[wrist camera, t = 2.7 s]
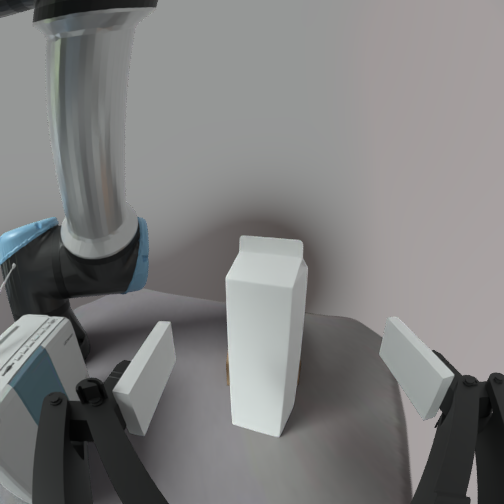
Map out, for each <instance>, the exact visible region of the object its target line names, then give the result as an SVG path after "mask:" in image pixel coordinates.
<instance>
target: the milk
mask: <svg viewBox="0 0 504 504" xmlns="http://www.w3.org/2000/svg"><path fill="white" fill-rule="evenodd" d="M307 274H308V267H307V265H306V263H305V261H304V259H303V243H302V241H300V240H292V239H280V238H267V237H256V236H241V237H240V252H239V254H238V256H237V257H236V259H235V261H234V263H233V265H232V267H231V269H230V271H229V272H228V274H227V276H226V305H227V333H228V356H229V376H230V394H231V411H232V424H234V425H237V426H240V427H243V428H247V429H250V430H253V431H257V432H260V433H264V434H268V435H271V436H275V437H280V435H281V433H282V431H283V429H284V427H285V425H286V422H287V420H288V418H289V416H290V414H291V411H292V409H293V407H294V402H295V394H296V387H297V379H298V371H299V363H300V354H301V345H302V335H303V325H304V314H305V302H306V289H307Z"/></svg>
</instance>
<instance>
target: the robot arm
mask: <svg viewBox="0 0 504 504" xmlns="http://www.w3.org/2000/svg"><path fill="white" fill-rule="evenodd" d="M157 2H158V0H0V18H1V17H6V16H9V15H13V14H16V13H19V12H23V11H27V10H30V9H34V8H35V9H34V17H33V26H34V27H35V28H36V29H38V30H39V31H40V32H41V33H43V34H44V35H45V37H46V39H47V43H46V102H47V116H48V124H49V125H48V126H49V133H50V142H51V149H52V155H53V161H54V167H55V172H56V177H57V182H58V187H59V191H60V196H61V200H62V204H63V208H64V211H65V215H66V217H65V219H64V220H63V223H62V225H61V226H58V221H57V218H56V217H52V218H48V219H44V220H41V221H38V222H34V223H31V224H28V225H25V226H22V227H19V228H16V229H14V230H11V231H8V232H6V233H4V234H3V235H2V236H1V237H0V265H1V270H2V275H3V279H4V281H5V279H6V277H7V275H8V274H9V272H10V271H11V269H12V265H13V263H15V264H16V267H15V268H14V269H12V271H11V273H10V276H9V277H8V279H7V281H6V284H5V288H6V292H7V296H8V300H9V304H10V307H11V311H12V314H13V318H14V321H15V322H16V321H17V320H18V319H20V318H21V317H22V316H24V315H28V314H31V315H48V316H50V317H53V316H55V317H66V318H67V319H69V320H70V322H71V324H72V327H73V329H74V332H75V335H76V338H77V341H78V344H79V347H80V350H81V353H82V356H83V359H85V358H86V357H87V355H88V353H89V350H90V345H89V341H88V338H87V334H86V332H85V330H84V329H83V327H82V326H81V324H80V322H79V321H78V319H77V318H76V316H75V314H74V312H73V311H72V309H71V307H70V303H69V298H78V297H89V296H99V295H110V294H126V293H128V292H133V291H138V290H141V289H142V288H143V287H144V286H145V284H146V281H147V277H148V265H149V261H148V252H149V242H148V241H149V240H148V229H147V223H146V221H145V219H143V218H139V217H137V215H136V212H135V210H134V209H133V207H132V206H131V205H130V204H128V203H127V202H126V193H125V192H126V190H125V116H126V100H127V87H128V77H129V68H130V59H131V52H132V45H133V39H134V33H135V28H136V26H137V25H138V23H139V22H140V21H142V20H143V19H144V18H145V17H147V16H148V15H150V14H151V13H152V12H154V11H155V10H156V6H157ZM379 355H380V357H381V358H382V360H383V361H384V362H385V364H386V365H387V367H388V368H389V370H390V371H391V373H392V374H393V376H394V377H395V378H396V380H397V381H398V383H399V384H400V386H401V387H402V389H403V390H404V392H405V393H406V395H407V396H408V398H409V399H410V401H411V402H412V404H413V405H414V407H415V408H416V410H417V412H418V413H419V415H420V416H421V418H422V419H423V421H424V420H427V419H430V418H433V417H435V415H436V414H437V412H438V410H439V408H440V410H441V411H442V415H441V416H440V418H439V420H438V422H437V423H436V425H435V428H436V427H437V425H438V427H437V431H436V434H435V438H434V442H433V445H432V448H431V451H430V455H429V458H428V461H427V464H426V466H425V469H424V472H423V475H422V477H421V480H420V483H419V485H418V488H417V490H416V492H415V495H414V497H413V499H412V501H411V503H410V504H470V497H466V492H467V488H468V484H469V479H470V474H471V469H472V464H473V459H474V453H475V455H476V465H477V483H478V504H504V375H503V374H501V373H492V374H490V376H489V378H488V380H487V381H485V382H479V381H478V380H477V379H476V378H475V377H472V376H470V375H463V376H462V375H461V374H460V373H459V372H458V371H457V370H456V369H455V368H454V367H453V366H452V365H451V364H449V362H448V361H447V360H446V359H445V358H444V357H443V356H442V355H441V354H440V353H438V352H436V351H434V350H432V351H431V350H430V349H429V348H428V347H427V346H426V345H425V344H424V343H423V342H422V341H421V340H420V339H419V338H418V337H417V336H416V335H415V334H414V333H413V332H412V331H411V330H410V329H409V328H408V327H407V326H406V325H405V324H404V323H403V322H402V321H401V320H400V319H399V318H398V317H390V318H387V321H386V326H385V331H384V335H383V340H382V344H381V348H380V352H379ZM175 362H176V354H175V348H174V342H173V335H172V328H171V322H166V321H158V323H157V324H156V326H155V327H154V329H153V330H152V332H151V333H150V334H149V336H148V337H147V339H146V340H145V342H144V343H143V345H142V346H141V348H140V349H139V351H138V352H137V354H136V355H135V357H134V358H133V360H132V361H126V360H123V361H122V362H120V363H119V364H117V365H116V367H115V368H114V369H113V372H111V374H110V375H109V377H108V378H107V379H106V381H105V382H104V384H103V383H102V381H101V380H99V379H97V378H86V379H84V380H81V381H80V382H79V383H78V384H77V385H76V393H77V395H78V397H79V399H80V401H69V400H68V398H67V396H66V395H65V394H64V393H62V392H52V393H50V394H48V395H47V396H45V398H44V400H43V403H42V408H41V413H40V419H39V424H38V431H37V437H36V445H35V454H34V464H33V480H32V504H93V500H92V493H91V485H90V476H89V464H88V447H87V441H91V442H95V445H96V448H97V450H98V453H99V455H100V457H101V460H102V462H103V465H104V467H105V469H106V471H107V474H108V476H109V478H110V480H111V482H112V484H113V486H114V488H115V490H116V492H117V494H118V496H119V498H120V500H121V501H122V503H123V504H169V503H168V502H167V501H166V499H165V498H164V496H163V495H162V494H161V492H160V491H159V489H158V488H157V486H156V485H155V483H154V482H153V480H152V479H151V477H150V476H149V474H148V472H147V471H146V469H145V468H144V466H143V464H142V463H141V461H140V459H139V458H138V456H137V454H136V452H135V451H134V449H133V447H132V445H131V443H130V441H129V440H128V438H127V436H126V434H125V432H124V429H125V427H126V426H127V429H128V431H129V433H130V434H135V435H140V436H145V434H146V432H147V429H148V427H149V424H150V422H151V419H152V417H153V414H154V412H155V410H156V407H157V405H158V402H159V400H160V397H161V395H162V393H163V390H164V388H165V385H166V383H167V381H168V378H169V376H170V374H171V371H172V369H173V367H174V364H175ZM492 411H493V412H492Z"/></svg>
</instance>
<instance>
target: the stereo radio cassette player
mask: <svg viewBox="0 0 504 504" xmlns="http://www.w3.org/2000/svg"><path fill="white" fill-rule="evenodd" d="M15 267H16V264H15V263H13V265H12V269H14V268H15ZM12 269H11V271H12ZM11 271H10V272H9V274H8V275H7V277H6V279H5V281H4V282H3V284H2V286H1V288H0V293H1V291H2V289H3V287H4V285H5V284H6V281H7V279H8V277H9V276H10V273H11ZM86 378H90V377H89V374H88V371H87V368H86V365H85V362H84V359H83V356H82V353H81V350H80V347H79V344H78V341H77V338H76V335H75V332H74V329H73V327H72V324H71V322H70V320H69V319H67V318H66V317H55V316H53V317H50V316H48V315H31V314H28V315H24V316H22V317H21V318H20V319H18V320H17V321H16V322H15V323H14V324H13V325H12V326H10V327H9V328H8V329H7V330H6V331H5V332H4V333H3V334H2V335H1V336H0V483H1V484H2V485H3V486H4V487H5V488H6V489H7V490H8V491H10V492H11V493H12V494H14V495H15V496H17V497H18V498H20V499H22V500H23V501H25V502H27V503H29V504H32V480H33V464H34V454H35V445H36V437H37V431H38V424H39V419H40V413H41V408H42V403H43V400H44V398H45V396H47V395H48V394H50V393H52V392H62V393H64V394H65V395H66V396H67V398H68V400H69V401H80V399H79V397H78V395H77V393H76V385H77V384H78V383H79V382H80V381H81V380H84V379H86Z"/></svg>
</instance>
